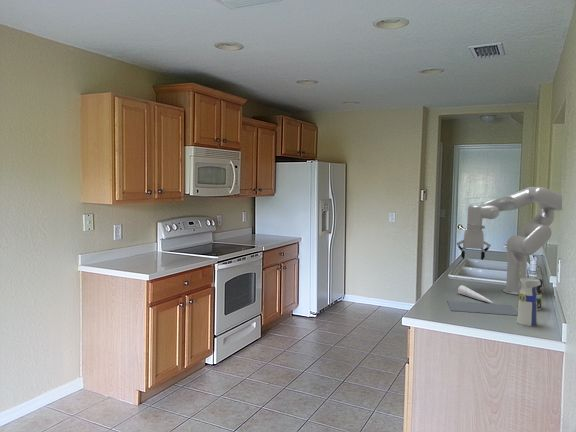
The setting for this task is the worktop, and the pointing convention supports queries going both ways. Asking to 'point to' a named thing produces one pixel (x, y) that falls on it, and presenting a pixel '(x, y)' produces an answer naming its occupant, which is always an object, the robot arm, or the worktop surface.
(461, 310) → the mat
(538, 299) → the coffee can
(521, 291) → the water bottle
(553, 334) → the worktop surface
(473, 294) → the unicorn horn
